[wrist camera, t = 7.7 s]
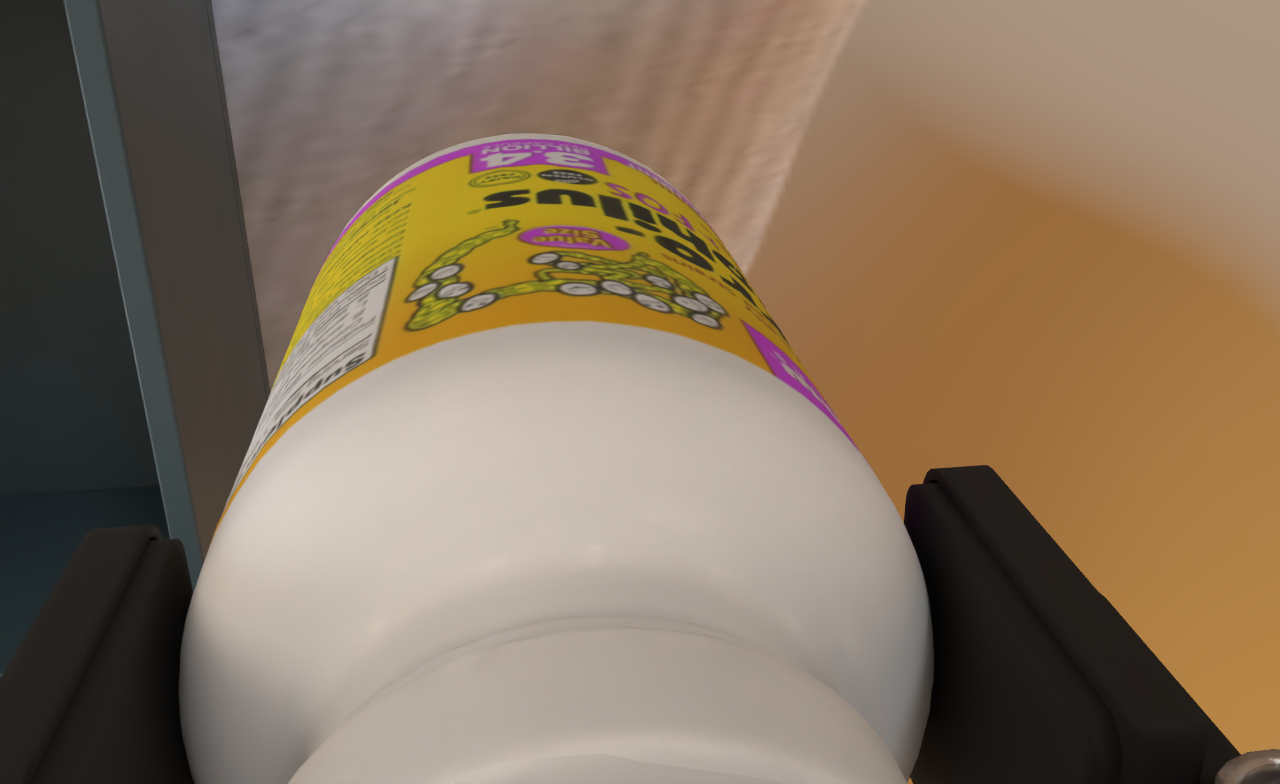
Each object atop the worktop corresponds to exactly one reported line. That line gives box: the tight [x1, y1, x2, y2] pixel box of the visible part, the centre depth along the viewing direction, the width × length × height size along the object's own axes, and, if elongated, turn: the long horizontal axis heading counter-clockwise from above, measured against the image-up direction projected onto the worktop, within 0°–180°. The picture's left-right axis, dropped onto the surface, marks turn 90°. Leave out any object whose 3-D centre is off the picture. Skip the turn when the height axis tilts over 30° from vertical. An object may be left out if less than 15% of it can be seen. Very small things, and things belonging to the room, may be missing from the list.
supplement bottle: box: [179, 133, 934, 784], centre depth 13 cm, size 7×7×13 cm
